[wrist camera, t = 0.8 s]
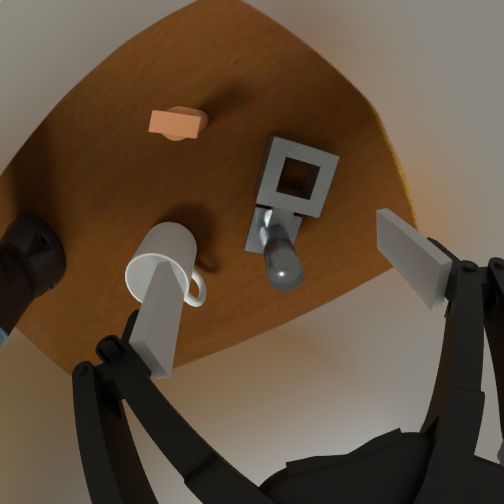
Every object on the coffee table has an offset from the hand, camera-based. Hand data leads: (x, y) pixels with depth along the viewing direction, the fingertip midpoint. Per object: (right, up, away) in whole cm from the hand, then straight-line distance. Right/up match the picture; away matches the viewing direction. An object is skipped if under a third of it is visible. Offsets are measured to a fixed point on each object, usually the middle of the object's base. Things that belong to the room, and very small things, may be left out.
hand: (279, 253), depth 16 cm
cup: (-13, 0, +26) cm, 29 cm away
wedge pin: (-9, +17, +16) cm, 25 cm away
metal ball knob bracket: (+3, +7, +22) cm, 24 cm away
